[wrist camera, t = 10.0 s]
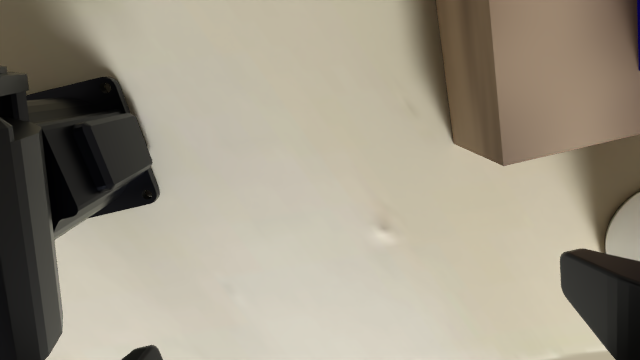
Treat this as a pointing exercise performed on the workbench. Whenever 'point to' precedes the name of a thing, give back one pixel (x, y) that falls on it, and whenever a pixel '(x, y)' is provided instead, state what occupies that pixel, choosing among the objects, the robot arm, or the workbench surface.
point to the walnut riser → (539, 74)
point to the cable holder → (639, 15)
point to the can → (625, 230)
